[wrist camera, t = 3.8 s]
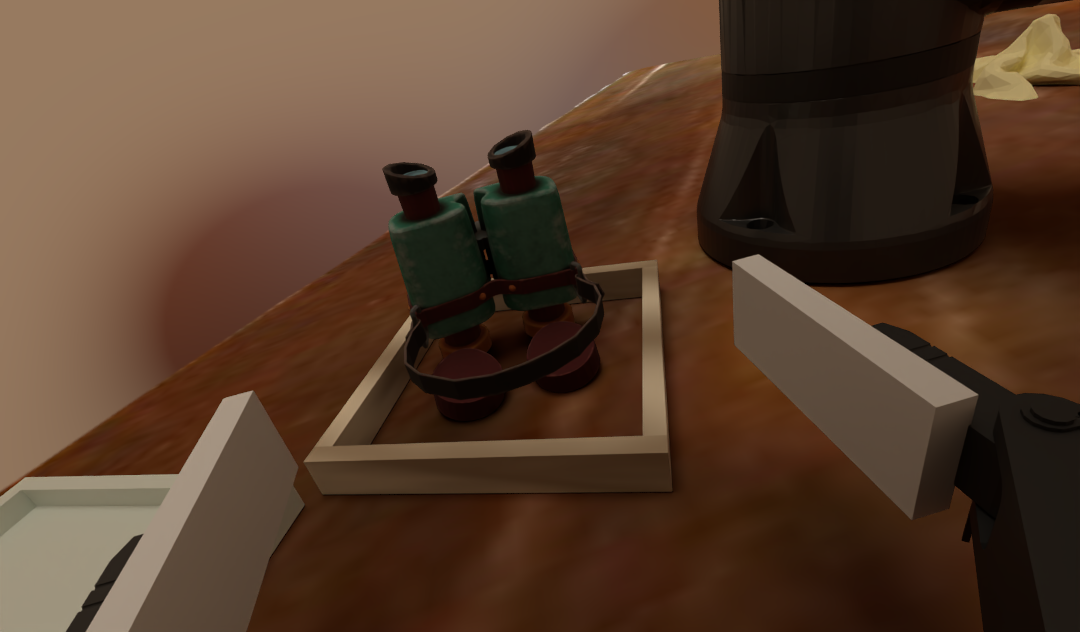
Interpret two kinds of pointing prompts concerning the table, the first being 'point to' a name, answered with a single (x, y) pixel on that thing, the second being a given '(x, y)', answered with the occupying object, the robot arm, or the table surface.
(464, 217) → the binoculars
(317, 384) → the table surface
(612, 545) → the table surface
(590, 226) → the table surface
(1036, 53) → the cloth
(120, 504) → the tray
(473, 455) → the holder
